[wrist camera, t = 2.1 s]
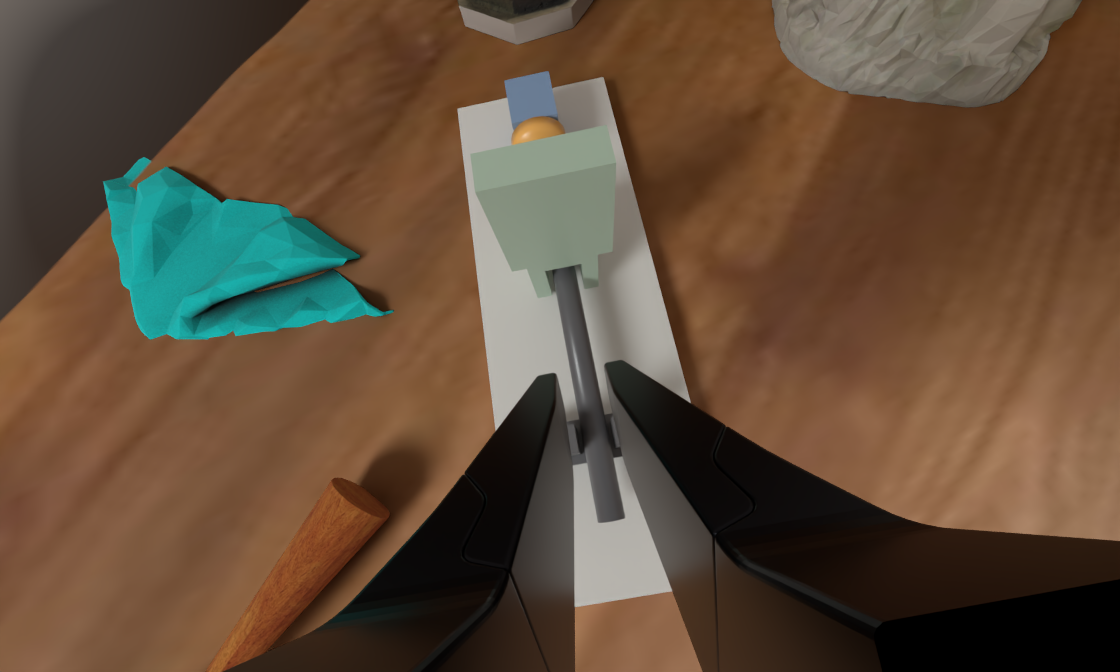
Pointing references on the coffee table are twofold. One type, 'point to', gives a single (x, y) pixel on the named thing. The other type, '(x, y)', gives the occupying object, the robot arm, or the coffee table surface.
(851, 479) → the coffee table surface
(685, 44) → the coffee table surface
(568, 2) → the bird statue
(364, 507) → the kendama
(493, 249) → the white board with rod
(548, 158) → the sage green stepped block
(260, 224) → the cloth
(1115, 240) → the coffee table surface
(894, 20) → the ceramic cottage
